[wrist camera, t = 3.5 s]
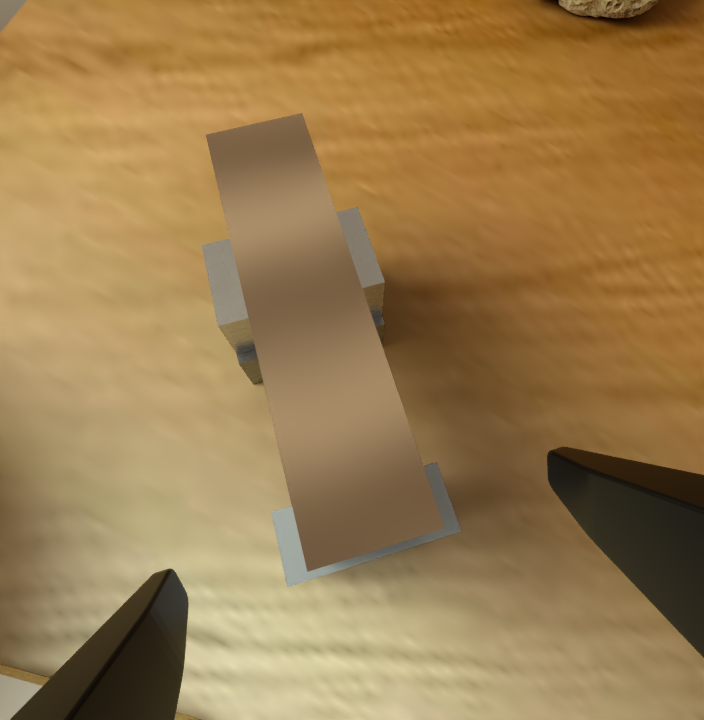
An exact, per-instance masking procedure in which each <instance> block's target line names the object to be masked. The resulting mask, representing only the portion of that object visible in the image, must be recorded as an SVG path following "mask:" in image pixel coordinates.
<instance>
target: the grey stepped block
mask: <svg viewBox="0 0 704 720" xmlns="http://www.w3.org/2000/svg"><path fill="white" fill-rule="evenodd" d="M336 213H337V216H338V219H339V222H340V225H341V228H342V231H343V234H344V237H345V239H346V242H347V245H348V248H349V251H350V254H351V257H352V260H353V263H354V266H355V269H356V271H357V274H358V277H359V280H360V283H361V286H362V289H363V292H364V295H365V298H366V301H367V303H368V306H369V309H370V312H371V315H372V318H373V321H374V324H375V327H376V330H377V332H378V335H379V338H380V341H381V344H383V336H384V328H385V323H384V320H383V317H382V308H383V298H384V289H385V280H384V277H383V275H382V272H381V269H380V267H379V264H378V261H377V258H376V256H375V253H374V250H373V248H372V245H371V242H370V239H369V237H368V234H367V231H366V228H365V226H364V223H363V220H362V218H361V215H360V212H359V209H358V207H356V208H352V209H348V210H344V211H340V212H336ZM202 249H203V254H204V259H205V264H206V269H207V274H208V279H209V284H210V289H211V293H212V298H213V303H214V308H215V313H216V318H217V323H218V327H219V328H220V330H221V331H222V333H223V334H224V336H225V337H226V339H227V340H228V342H229V343H230V345H231V346H232V347H233V349H234V350H235V352H236V353H237V357H238V361H239V365H240V366H241V367H242V369H243V370H244V372H245V373H246V375H247V376H248V377H249V379H250V380H251V382H252V383H253V384H256V383H260V382H263V378H262V374H261V370H260V366H259V361H258V357H257V353H256V348H255V344H254V340H253V335H252V331H251V327H250V323H249V318H248V314H247V310H246V305H245V301H244V297H243V292H242V288H241V284H240V279H239V275H238V271H237V267H236V262H235V258H234V254H233V249H232V245H231V241H230V239H226V240H222V241H218V242H214V243H210V244H206V245H202Z"/></svg>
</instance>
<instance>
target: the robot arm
mask: <svg viewBox="0 0 704 720" xmlns="http://www.w3.org/2000/svg"><path fill="white" fill-rule="evenodd" d="M547 465H548V480H549V483H550V486H551V488H552V489H553V491H554V492H555V493H556V495H557V496H558V497H559V499H560V500H561V501H562V502H563V504H564V505H565V506H566V508H567V509H568V510H569V512H570V513H571V514H572V516H573V517H574V518H575V520H576V521H577V522H578V524H579V525H580V526H581V527H582V529H583V530H584V531H585V532H586V534H587V535H588V536H589V537H590V538H591V539H592V540H593V542H594V543H595V544H596V545H597V546H598V547H599V548H600V549H601V550H602V551H603V552H604V553H605V554H606V555H607V556H608V557H609V558H610V560H611V561H612V562H613V563H614V564H615V565H616V566H617V567H618V568H619V569H620V570H621V571H622V572H623V573H624V574H625V575H626V576H627V577H628V579H629V580H630V581H631V582H632V583H633V584H634V585H635V586H636V587H637V588H638V589H639V590H640V591H641V592H642V593H643V594H644V595H645V596H646V597H647V599H648V600H649V601H650V602H651V603H652V604H653V605H654V606H655V607H656V608H657V609H658V610H659V611H660V612H661V613H662V614H663V615H664V616H665V618H666V619H667V620H668V621H669V622H670V623H671V624H672V625H673V626H674V627H675V628H676V629H677V630H678V631H679V632H680V633H681V634H682V635H683V637H684V638H685V639H686V640H687V641H688V642H689V643H690V644H691V645H692V646H693V647H694V648H695V649H696V650H697V651H698V652H699V653H700V654H701V655H702V657H703V658H704V475H701V474H696V473H691V472H686V471H681V470H676V469H671V468H666V467H661V466H656V465H652V464H647V463H642V462H637V461H632V460H627V459H622V458H617V457H612V456H608V455H603V454H598V453H593V452H588V451H583V450H578V449H573V448H568V447H560V448H557V449H554V450H551V451H549V452H548V455H547ZM187 619H188V596H187V593H186V591H185V589H184V587H183V585H182V583H181V581H180V580H179V578H178V576H177V574H176V572H175V571H174V570H173V569H166V570H163V571H160V572H157V573H154V574H153V575H152V576H151V577H150V578H149V579H148V580H147V581H146V582H145V583H144V584H143V585H142V586H141V587H140V588H139V589H138V590H137V591H136V592H135V593H134V594H133V595H132V596H131V597H130V598H129V599H128V600H127V601H126V602H125V603H124V604H123V605H122V606H121V607H120V608H119V609H118V610H117V611H116V612H115V613H114V614H113V615H112V616H111V617H110V618H109V619H108V620H107V621H106V622H105V623H104V624H103V626H102V627H101V628H100V629H99V630H98V631H97V632H96V633H95V634H94V635H93V636H92V637H91V638H90V639H89V640H88V641H87V642H86V643H85V644H84V645H83V646H82V647H81V648H80V649H79V650H78V651H77V652H76V653H75V654H74V655H73V656H72V657H71V658H70V659H69V660H68V661H67V662H66V663H65V664H64V665H63V666H62V667H61V668H60V669H59V670H58V671H57V672H56V673H55V674H54V675H53V676H52V677H51V678H50V679H49V680H48V681H47V682H46V683H45V684H44V685H43V686H42V687H41V688H40V689H39V690H38V691H37V692H36V693H35V694H34V695H33V696H32V697H31V698H30V699H29V700H28V701H27V702H26V704H25V705H24V706H23V707H22V708H21V709H20V710H19V711H18V712H17V713H16V714H15V715H14V716H13V717H12V718H11V719H10V720H175V714H176V709H177V704H178V698H179V693H180V687H181V682H182V676H183V670H184V660H185V647H186V633H187Z"/></svg>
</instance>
